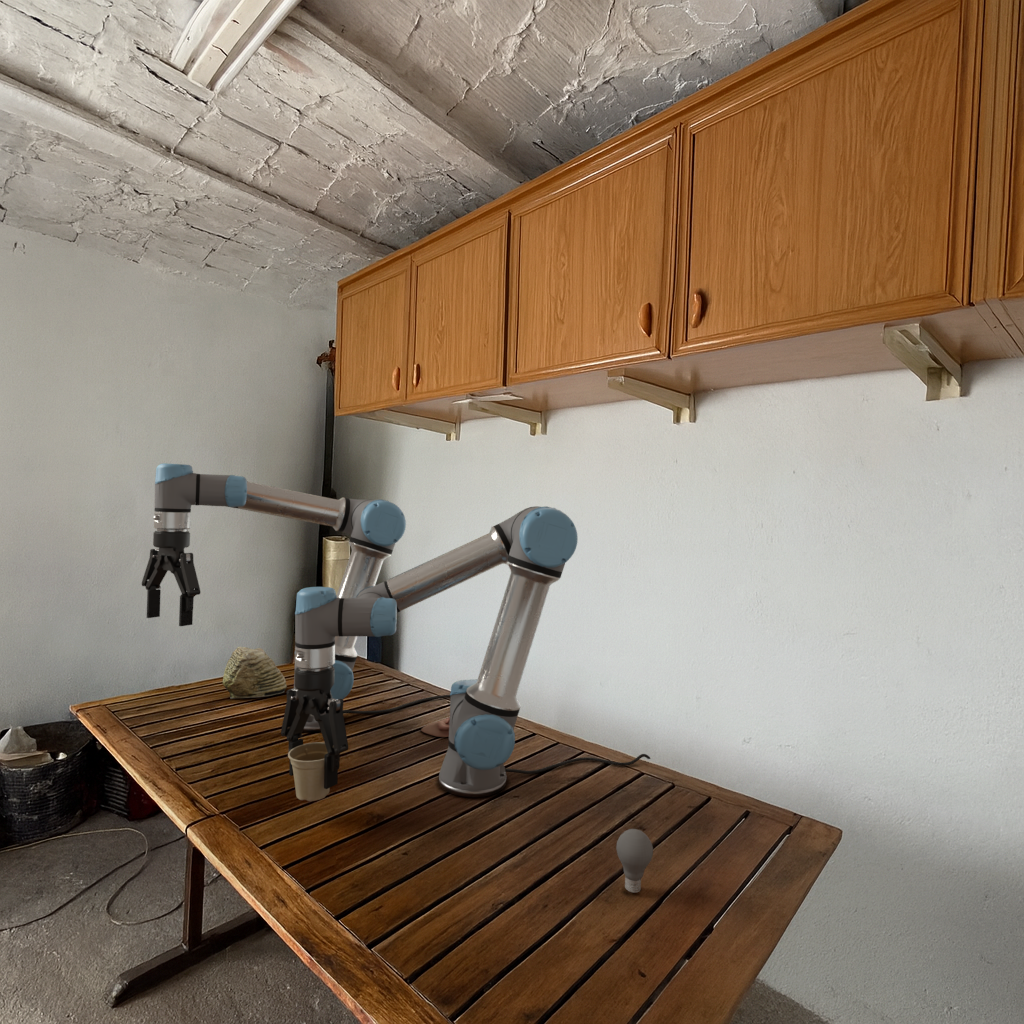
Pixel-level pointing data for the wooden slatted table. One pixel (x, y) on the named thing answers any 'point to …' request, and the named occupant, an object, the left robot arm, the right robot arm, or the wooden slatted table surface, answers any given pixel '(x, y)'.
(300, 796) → the plastic plant pot
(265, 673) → the fossil
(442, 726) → the anatomical model
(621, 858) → the light bulb
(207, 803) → the wooden slatted table surface
